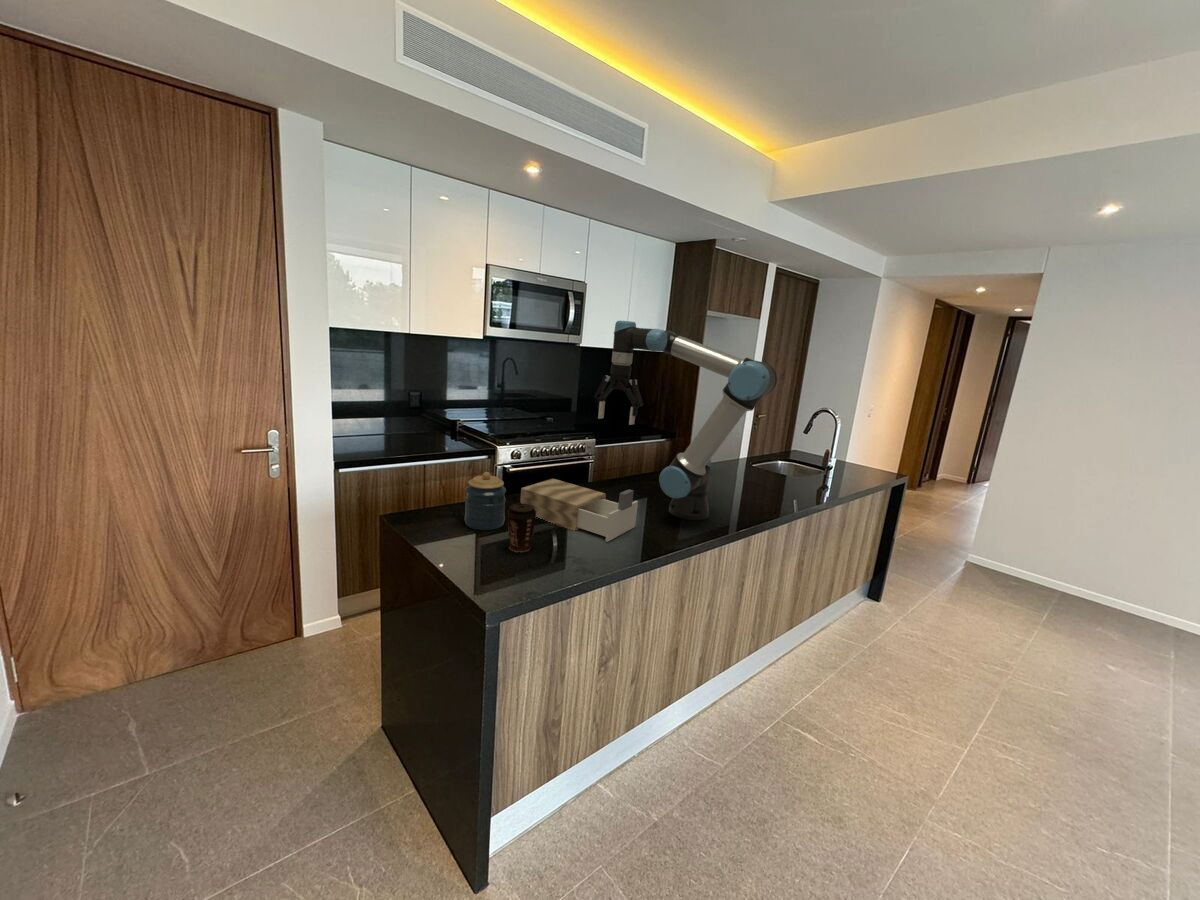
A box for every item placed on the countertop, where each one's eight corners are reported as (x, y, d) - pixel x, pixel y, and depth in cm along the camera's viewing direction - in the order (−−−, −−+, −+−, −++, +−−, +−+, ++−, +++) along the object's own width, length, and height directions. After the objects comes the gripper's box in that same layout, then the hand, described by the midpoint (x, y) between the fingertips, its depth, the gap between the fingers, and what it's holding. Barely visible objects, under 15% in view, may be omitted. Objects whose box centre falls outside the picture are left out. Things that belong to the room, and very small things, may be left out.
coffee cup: (515, 539, 155) (517, 499, 152) (539, 545, 152) (542, 505, 149) (500, 549, 147) (502, 508, 144) (524, 556, 144) (527, 514, 141)
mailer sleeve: (603, 517, 180) (605, 493, 178) (574, 531, 165) (576, 505, 163) (551, 500, 193) (552, 478, 191) (519, 512, 178) (521, 488, 176)
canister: (457, 527, 160) (458, 474, 156) (474, 514, 172) (476, 464, 168) (495, 533, 158) (498, 480, 154) (510, 519, 170) (512, 469, 166)
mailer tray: (637, 527, 173) (642, 486, 170) (610, 542, 158) (614, 498, 155) (579, 509, 186) (582, 471, 182) (549, 521, 171) (552, 480, 168)
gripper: (587, 360, 187) (583, 416, 191) (646, 368, 174) (640, 428, 179) (598, 360, 193) (594, 415, 198) (656, 368, 180) (649, 425, 185)
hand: (615, 421), depth 188 cm, fingers open, 13 cm apart
